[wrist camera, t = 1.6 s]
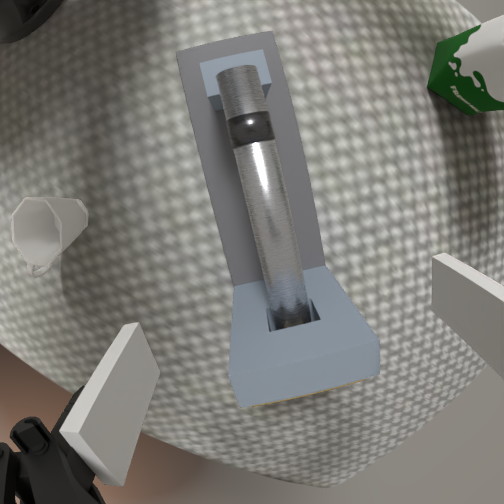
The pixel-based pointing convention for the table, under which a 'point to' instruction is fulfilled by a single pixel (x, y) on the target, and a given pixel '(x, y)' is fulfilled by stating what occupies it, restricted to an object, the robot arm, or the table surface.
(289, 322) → the shaft
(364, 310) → the table surface
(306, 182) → the rig
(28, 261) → the cup
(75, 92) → the table surface
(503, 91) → the milk carton
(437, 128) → the table surface
